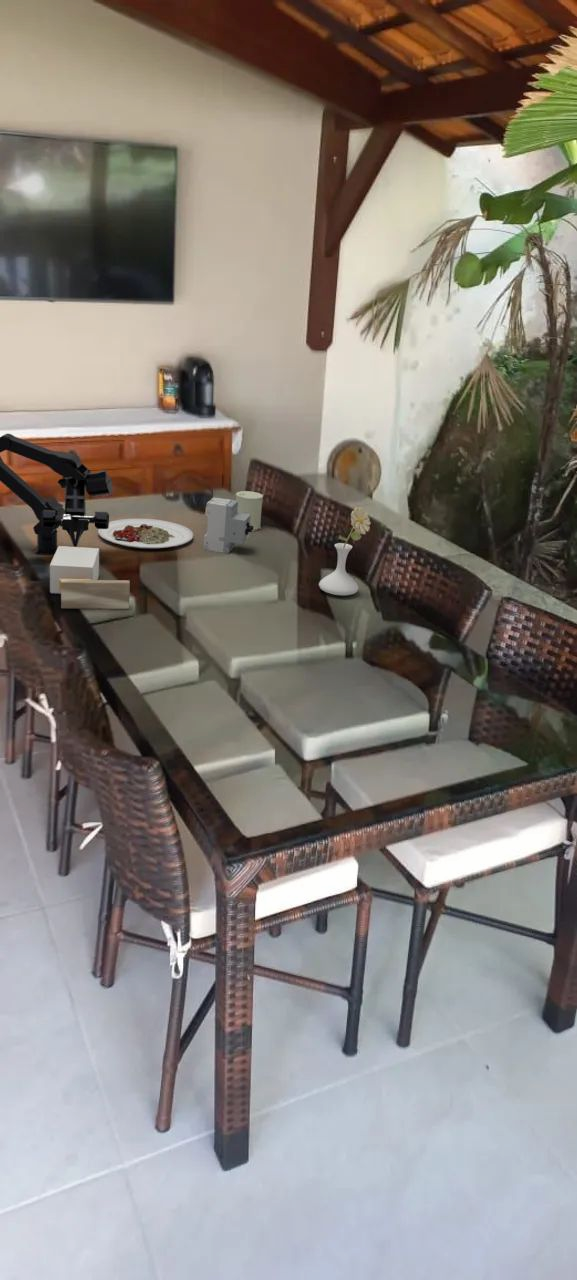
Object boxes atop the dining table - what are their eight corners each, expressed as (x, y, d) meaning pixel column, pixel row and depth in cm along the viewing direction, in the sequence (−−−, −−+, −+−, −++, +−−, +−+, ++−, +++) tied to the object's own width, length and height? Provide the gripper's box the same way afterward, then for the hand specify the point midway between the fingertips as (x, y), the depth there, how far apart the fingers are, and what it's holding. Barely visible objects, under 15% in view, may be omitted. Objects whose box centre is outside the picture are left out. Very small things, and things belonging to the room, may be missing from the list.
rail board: (61, 604, 236) (61, 578, 233) (128, 604, 240) (129, 579, 237) (61, 608, 234) (61, 582, 231) (129, 608, 238) (129, 583, 235)
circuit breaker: (247, 556, 285) (251, 509, 279) (203, 549, 287) (205, 502, 281) (253, 549, 292) (256, 503, 286) (209, 542, 294) (212, 497, 288)
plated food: (211, 539, 299) (212, 529, 298) (151, 559, 275) (151, 548, 274) (141, 518, 313) (141, 508, 311) (77, 536, 289) (77, 525, 288)
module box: (58, 573, 257) (58, 546, 254) (98, 575, 259) (99, 548, 255) (50, 593, 243) (49, 565, 240) (92, 596, 244) (92, 567, 241)
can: (231, 523, 316) (233, 489, 311) (257, 523, 319) (260, 490, 314) (236, 531, 308) (238, 496, 303) (263, 532, 310) (265, 497, 306)
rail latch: (59, 587, 238) (59, 578, 237) (91, 588, 240) (91, 579, 239) (59, 589, 237) (59, 580, 236) (91, 589, 238) (91, 580, 237)
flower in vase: (330, 600, 256) (340, 513, 246) (311, 586, 265) (320, 502, 255) (370, 596, 262) (381, 511, 252) (349, 583, 271) (360, 500, 261)
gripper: (107, 512, 273) (108, 559, 268) (42, 510, 269) (41, 558, 264) (108, 493, 263) (109, 542, 258) (41, 491, 259) (40, 540, 254)
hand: (75, 546), depth 259 cm, fingers closed
